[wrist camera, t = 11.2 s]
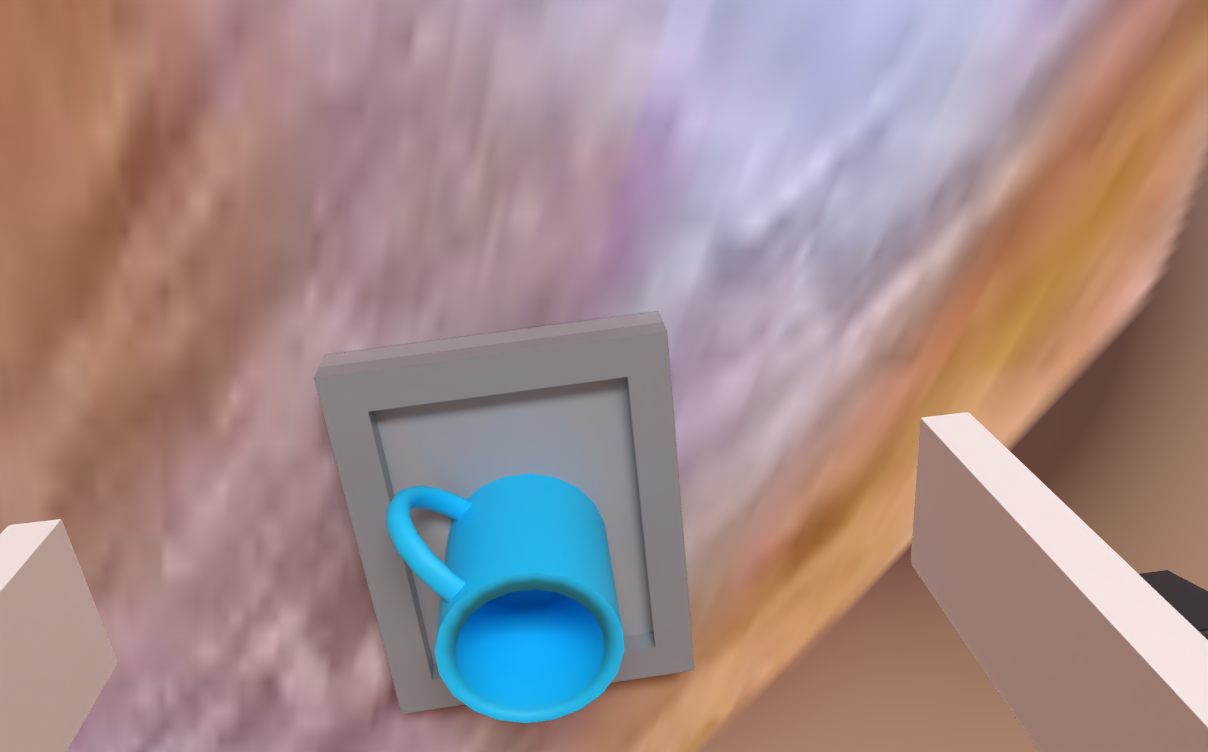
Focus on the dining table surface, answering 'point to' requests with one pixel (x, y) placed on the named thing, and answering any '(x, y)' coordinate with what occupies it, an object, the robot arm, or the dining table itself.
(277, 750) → the dining table surface
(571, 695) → the mug
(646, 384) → the tray
